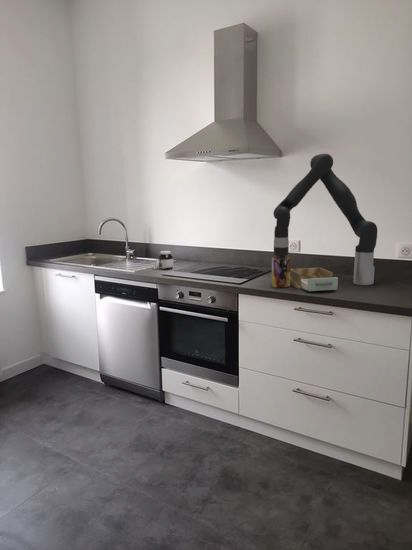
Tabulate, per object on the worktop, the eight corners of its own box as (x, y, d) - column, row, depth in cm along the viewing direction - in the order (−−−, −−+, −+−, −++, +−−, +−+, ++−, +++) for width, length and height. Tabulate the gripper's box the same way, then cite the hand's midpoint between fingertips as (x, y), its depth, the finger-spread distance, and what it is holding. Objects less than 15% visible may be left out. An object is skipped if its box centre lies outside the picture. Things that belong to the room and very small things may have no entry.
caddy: (319, 281, 225) (320, 267, 223) (331, 287, 211) (332, 272, 210) (288, 283, 222) (289, 269, 220) (298, 289, 209) (299, 274, 207)
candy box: (287, 285, 218) (288, 256, 214) (290, 286, 213) (290, 257, 210) (271, 285, 217) (271, 257, 214) (273, 287, 213) (273, 258, 209)
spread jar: (175, 269, 268) (174, 251, 266) (161, 271, 261) (160, 253, 258) (164, 267, 277) (163, 249, 274) (150, 269, 269) (149, 251, 267)
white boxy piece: (325, 283, 215) (325, 272, 214) (338, 290, 201) (339, 278, 200) (297, 285, 213) (298, 274, 212) (309, 291, 199) (310, 279, 198)
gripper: (293, 247, 205) (292, 280, 208) (283, 243, 218) (282, 275, 222) (278, 248, 203) (278, 281, 207) (269, 244, 217) (269, 276, 221)
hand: (280, 278), depth 214 cm, fingers closed on candy box, 4 cm apart
